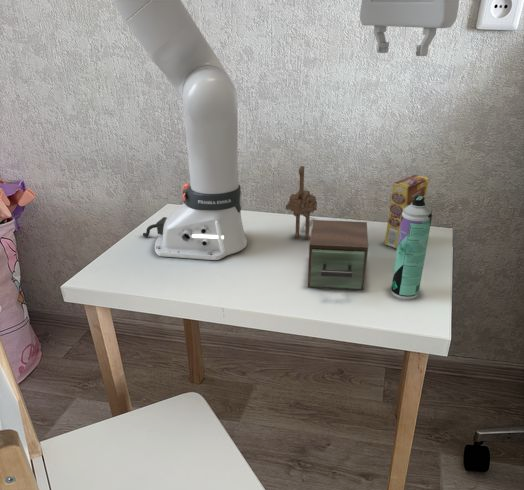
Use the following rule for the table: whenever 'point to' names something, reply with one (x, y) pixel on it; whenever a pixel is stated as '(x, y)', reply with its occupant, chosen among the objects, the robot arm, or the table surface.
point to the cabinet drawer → (337, 268)
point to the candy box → (403, 204)
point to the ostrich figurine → (302, 205)
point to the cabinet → (338, 240)
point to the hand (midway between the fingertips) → (401, 54)
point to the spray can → (411, 249)
